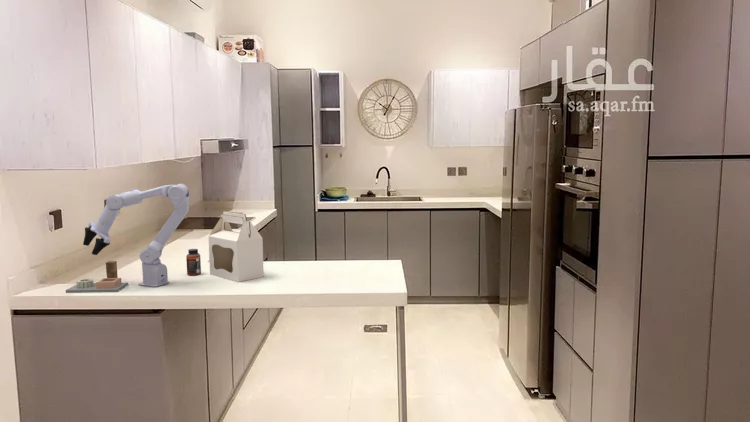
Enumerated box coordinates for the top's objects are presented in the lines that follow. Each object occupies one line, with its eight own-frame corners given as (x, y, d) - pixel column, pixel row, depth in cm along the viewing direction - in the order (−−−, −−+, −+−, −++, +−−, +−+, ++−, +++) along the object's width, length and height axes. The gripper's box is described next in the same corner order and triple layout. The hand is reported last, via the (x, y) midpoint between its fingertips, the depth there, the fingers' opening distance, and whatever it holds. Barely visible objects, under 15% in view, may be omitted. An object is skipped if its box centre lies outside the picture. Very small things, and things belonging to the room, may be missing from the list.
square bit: (117, 279, 245) (116, 260, 244) (114, 280, 242) (113, 262, 241) (110, 279, 245) (108, 261, 244) (106, 281, 242) (105, 262, 241)
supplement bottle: (202, 274, 252) (201, 249, 251) (188, 276, 249) (187, 251, 248) (199, 272, 257) (198, 247, 256) (185, 273, 254) (184, 248, 253)
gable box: (209, 274, 253) (206, 212, 250) (234, 269, 263) (232, 209, 260) (238, 282, 239) (236, 216, 235) (264, 276, 248) (262, 213, 245)
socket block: (128, 284, 235) (127, 276, 235) (117, 291, 224) (117, 283, 224) (79, 285, 234) (78, 277, 234) (65, 292, 224) (65, 283, 223)
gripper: (88, 210, 232) (72, 239, 233) (105, 227, 225) (89, 257, 226) (103, 214, 238) (88, 242, 239) (120, 230, 231) (104, 259, 232)
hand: (89, 249), depth 233 cm, fingers open, 7 cm apart
